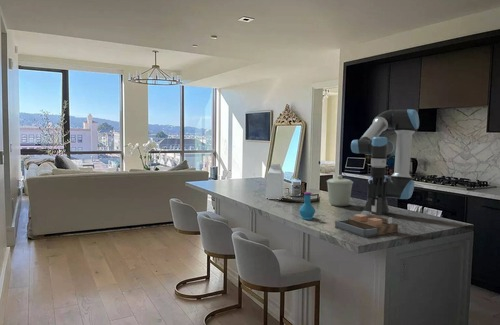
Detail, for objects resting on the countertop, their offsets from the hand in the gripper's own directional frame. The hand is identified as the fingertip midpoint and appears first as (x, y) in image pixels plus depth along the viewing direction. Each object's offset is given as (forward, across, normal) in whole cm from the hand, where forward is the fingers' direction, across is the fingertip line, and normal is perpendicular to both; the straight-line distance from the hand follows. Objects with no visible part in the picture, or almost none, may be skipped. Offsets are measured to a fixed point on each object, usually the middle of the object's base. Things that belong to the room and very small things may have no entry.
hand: (376, 211), depth 198 cm
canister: (+9, +27, +58) cm, 65 cm away
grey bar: (+5, 0, 0) cm, 5 cm away
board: (+9, -3, 0) cm, 10 cm away
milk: (+9, 0, +98) cm, 98 cm away
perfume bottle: (+9, -18, +35) cm, 41 cm away
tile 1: (+5, -6, +5) cm, 9 cm away
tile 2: (+5, -6, -5) cm, 9 cm away
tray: (+9, -14, 0) cm, 17 cm away
